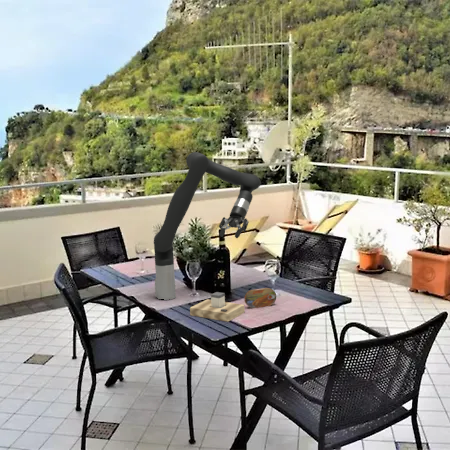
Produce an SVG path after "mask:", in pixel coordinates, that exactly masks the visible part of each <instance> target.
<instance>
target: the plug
mask: <svg viewBox="0 0 450 450" xmlns="http://www.w3.org/2000/svg"><path fill="white" fill-rule="evenodd" d="M225 296H226V294H225V292H219V291H216V292H214V293H211V294H210V300H211V306H212V307H215V308H222V307H224V306H225V302H226V300H225V299H226V297H225Z"/></svg>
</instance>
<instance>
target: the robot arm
mask: <svg viewBox="0 0 450 450" xmlns="http://www.w3.org/2000/svg"><path fill="white" fill-rule="evenodd" d="M185 162H186V166H187V167H188V171H187V174H186V175H185V178H184V179H183V181H182V182H181V183H180V184H179V186H178V187H177V188H176V189H175V191H174V193H173V195H172V196H171V197H172V198H171V199H170V202H169V205H168V206H167V207H168V208H167V211H166V214H165V218H164V221H163V222H162V223H163V224H162V226H161V228H160V229H159V231H158V232H157V233H156V234H155V235H154V238H153V247H154V251H153V252H154V264H155V265H154V267H155V279H154V294H155V298H156V297H157V298H158V299H157V298H156V299H157V300H159V299H164V300H163V301H169V299H170V300H174V299H175V298H176V296H177V295H176V294H177V293H176V278H175V276H176V275H175V260H174V259H175V258H174V244H173V243H174V240H175V238H176V233H177V231H178V229H179V226H180V225H181V223H182V222H183V219H184V218H185V216H186V213H187V212H188V210H189V207H190V205H191V203H192V201H193V197H194V196H195V193H196V192H197V189H198V186H199V184H200V183H201V180H202V179H203V176H204V175H205V173H206V174H209V175H212V176H214V177H217V178H218V179H220V180H221V181H225V182H226V183H229V184H231V185H233V186H240V188H239V194H238V196H237V198H236V200H235V202H234V203H233V206H232V208H231V211H230V212H229V217H228V218H226V217H225V216H224V217H222V219H221V221H220V222H219V225H218V228H219V229H220V231H219V237H220V238H223V237H224V235H225V232H226V231H227V230H229V229H230V228H237V229H236V231H235V234H234V238H235V239H238V238H240V236H241V233H242V232H247V231H246V230H247V228H248V226H249V220H248V219H247V218H246V216H247V214H248V211H249V209H250V205H251V202H252V200H253V198H254V196H253V194H252V192H254V191H255V190H257V189H258V188H260V187H261V185H262V184H261V179H260V178H259V177H258V176H257V175H255V174H252V173H247V172H241V171H239V170H236V169H233V168H231V167H229V166H226V165H222V164H220V163H218V162H215V161H213V160H211V159H209V158H208V157H207V156H206V155H205V154H203V153H202V152H198V151H193V152H191V153H189V154H188V155H187V156H186V159H185Z"/></svg>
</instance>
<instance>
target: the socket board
mask: <svg viewBox="0 0 450 450" xmlns="http://www.w3.org/2000/svg"><path fill="white" fill-rule="evenodd" d="M245 310H246V309H245V304H240V303H233V302H228V301H225V306H224V307H222V308H215V307H212V306H211V299H205V300H203V301H200V302H199V303H196V304H195V305H192V306H191V307H190V308H189V313H190V315H189V316H193V317H200V318H206V319H211V320H216V321H222V322H230V321H232V320H233V319H235V318H237V317H239V316H241V315H243V314H244V313H245V312H246V311H245Z"/></svg>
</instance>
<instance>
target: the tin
mask: <svg viewBox="0 0 450 450" xmlns="http://www.w3.org/2000/svg"><path fill="white" fill-rule="evenodd" d="M276 293H277V292H275V290H274V289H272V288H269V287H265V288H263V287H262V288H255V289H250V290H248V291H247V292H246V293H245V295H244V298H243V299H244V303H245V304H246V305H247V307H248V308H250V309H259V308H265V307H271V306H272V305H274V304H275V302H276V300H277V294H276Z"/></svg>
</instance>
